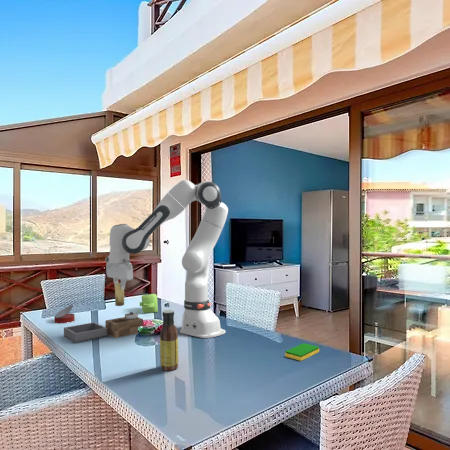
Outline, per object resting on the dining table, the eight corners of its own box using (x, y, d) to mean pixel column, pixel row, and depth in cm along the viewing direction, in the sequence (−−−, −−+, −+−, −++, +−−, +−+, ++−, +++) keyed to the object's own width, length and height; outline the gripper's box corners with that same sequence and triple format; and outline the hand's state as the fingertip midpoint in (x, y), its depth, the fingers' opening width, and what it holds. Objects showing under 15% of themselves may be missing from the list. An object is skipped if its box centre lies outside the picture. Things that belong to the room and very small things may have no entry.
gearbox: (139, 309, 222) (138, 293, 222) (155, 307, 225) (154, 292, 225) (140, 315, 205) (140, 298, 205) (158, 313, 208) (157, 296, 208)
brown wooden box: (143, 331, 170) (143, 312, 170) (115, 337, 161) (115, 317, 161) (132, 327, 178) (132, 309, 178) (105, 333, 168) (105, 313, 168)
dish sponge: (284, 357, 137) (284, 351, 137) (303, 348, 147) (303, 342, 147) (301, 362, 132) (301, 355, 132) (319, 352, 142) (319, 346, 142)
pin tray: (106, 336, 162) (106, 328, 162) (75, 343, 153) (75, 334, 153) (94, 330, 173) (94, 322, 173) (63, 336, 163) (63, 327, 163)
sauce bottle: (170, 363, 130) (170, 308, 130) (182, 367, 126) (182, 310, 126) (156, 368, 125) (156, 311, 125) (168, 373, 121) (168, 313, 121)
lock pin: (125, 305, 168) (125, 283, 168) (117, 306, 165) (117, 284, 165) (121, 303, 171) (121, 282, 171) (113, 305, 168) (113, 283, 168)
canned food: (70, 331, 188) (68, 316, 184) (51, 329, 189) (48, 314, 184) (79, 316, 199) (77, 302, 194) (61, 314, 199) (59, 300, 194)
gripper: (136, 259, 162) (136, 290, 162) (116, 257, 178) (116, 285, 177) (123, 260, 158) (123, 292, 158) (103, 258, 173) (103, 286, 173)
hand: (119, 288), depth 168 cm, fingers closed on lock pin, 4 cm apart
